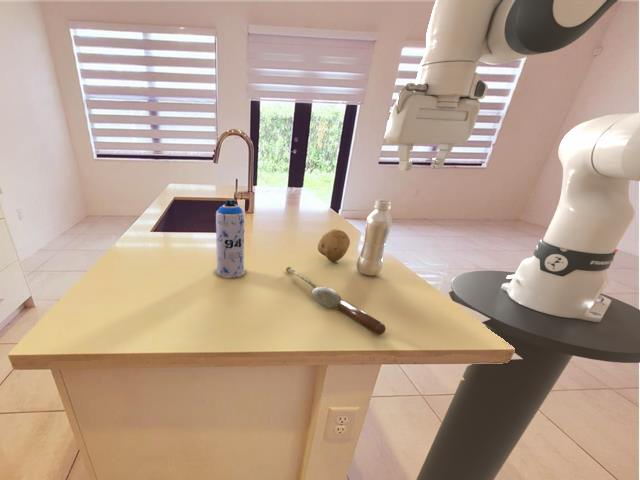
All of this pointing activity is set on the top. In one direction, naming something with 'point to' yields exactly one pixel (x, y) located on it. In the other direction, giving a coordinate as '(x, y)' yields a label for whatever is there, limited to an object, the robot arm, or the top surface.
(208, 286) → the top surface
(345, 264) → the top surface
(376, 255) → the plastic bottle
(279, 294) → the top surface
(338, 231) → the potato
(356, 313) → the walnut dowel
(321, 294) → the soupspoon
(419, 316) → the top surface
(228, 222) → the aerosol can
